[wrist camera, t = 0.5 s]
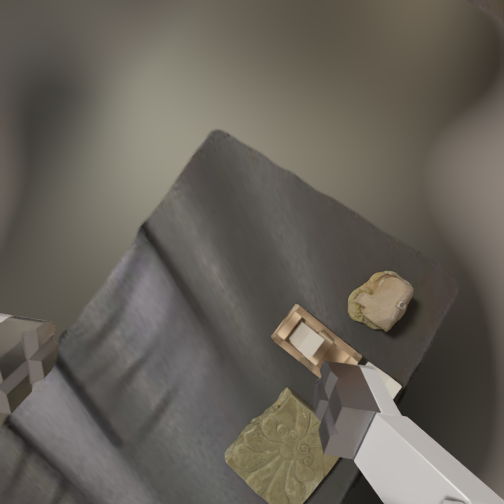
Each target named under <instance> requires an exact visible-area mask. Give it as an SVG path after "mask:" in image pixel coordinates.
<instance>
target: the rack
mask: <svg viewBox="0 0 504 504" xmlns="http://www.w3.org/2000/svg"><path fill="white" fill-rule="evenodd" d="M301 321H302V322H303V323H304V324H306V325H307V326H308V327H309V328H311V329H312V330H313V331H314V332H316V333H317V334H318V335H319V336H321V337H322V338H323V339H324V341H323V342H322V344H321V345H320V346H319V348H318V349H317V351H316V352H315V353H314V355H313V356H312V357H311V359H309V358H307V357H306V356H305V355H304V354H302V353H301V352H300V351H299V350H298V349H297V348H296V347H295V346H294V344H293V343H292V342H291V340H290V339H289V338H288V337H289V336H290V335H291V333H292V332H293V331H294V329H295V328H296V327H297V326H298V324H299V323H300V322H301ZM271 337H272V339H273V341H275V342H276V343H277V344H278V345H280V346H281V347H282V348H283V349H285V350H286V351H287V352H288V353H290V354H291V355H292V356H293V357H295V358H296V359H297V360H298V361H300V362H301V363H302V364H303V365H304V366H306V367H307V368H308V369H309V370H311V371H312V372H313V373H314V374H316V375H317V376H318V377H319V378H321V373H320V368H321V365H322V363H323V362H324V361H331V362H339V363H346V364H354V365H357V364H358V362H359V361H360V359H361V358H362V357H363V356H361V355H360V354H359V353H358V352H356V351H355V350H354V349H353V348H351V347H350V346H349V345H348V344H346V343H345V342H344V341H343V340H341V339H340V338H339V337H338V336H336V335H335V334H334V333H333V332H331V331H330V330H329V329H328V328H326V327H325V326H324V325H323V324H322V323H320V322H319V321H318V320H317V319H315V318H314V317H313V316H312V315H310V314H309V313H308V312H307V311H305V310H304V309H303V308H302V307H300V306H299V305H297V304H296V305H295V306H294V307H293V308H292V310H291V311H290V312H289V314H288V315H287V316H286V317H285V319H284V320H283V321H282V323H281V324H280V325H279V327H278V328H277V329H276V330H275V332H274V333H273V334H272V336H271Z"/></svg>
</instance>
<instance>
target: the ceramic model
mask: <svg viewBox="0 0 504 504" xmlns="http://www.w3.org/2000/svg"><path fill="white" fill-rule="evenodd" d="M413 294H414V289H413V288H412V287H411V284H409V282H408V281H405V280H404V279H402V278H401V277H399V276H398V274H397V273H395V272H392V271H384V272H379V273H375V274H374V275H372V277H371V278H370V279H369V281H368V282H366V283H365V284H363V285H362V286H361V287H359V288H358V289H356V290H354V291H353V292H352V293H351V295H350V296H349V298H348V313H349V315H350V317H351V318H352V319H353V320H354V321H358V322H361V323H364V324H366V325H367V326H369V327H370V328H372V329H384V331H388V330H390V329H391V327H392V326H393V325H394V324H395V323H396V322H397V321H398V320H400V319H401V317H402V316H403V315H404V313H405V312H406V309H407V306H408V304H409V302H410V300H411V298H412V296H413Z"/></svg>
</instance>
